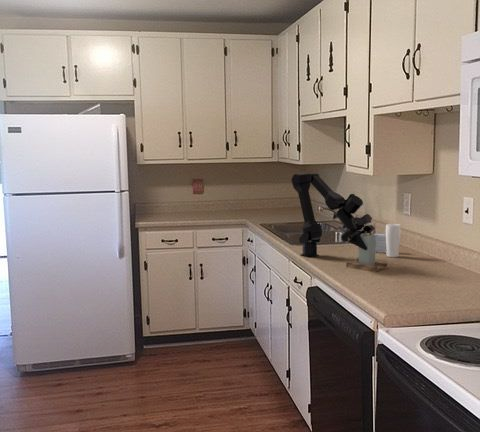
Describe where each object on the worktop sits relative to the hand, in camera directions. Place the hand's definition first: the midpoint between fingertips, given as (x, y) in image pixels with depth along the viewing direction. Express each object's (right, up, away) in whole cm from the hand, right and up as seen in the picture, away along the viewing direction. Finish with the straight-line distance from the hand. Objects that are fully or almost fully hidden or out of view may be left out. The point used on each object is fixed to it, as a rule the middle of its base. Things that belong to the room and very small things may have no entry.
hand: (369, 248), depth 230 cm
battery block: (-1, -7, +2) cm, 8 cm away
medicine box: (+14, -4, +35) cm, 38 cm away
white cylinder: (+16, -5, +24) cm, 30 cm away
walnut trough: (-1, -8, +2) cm, 8 cm away
